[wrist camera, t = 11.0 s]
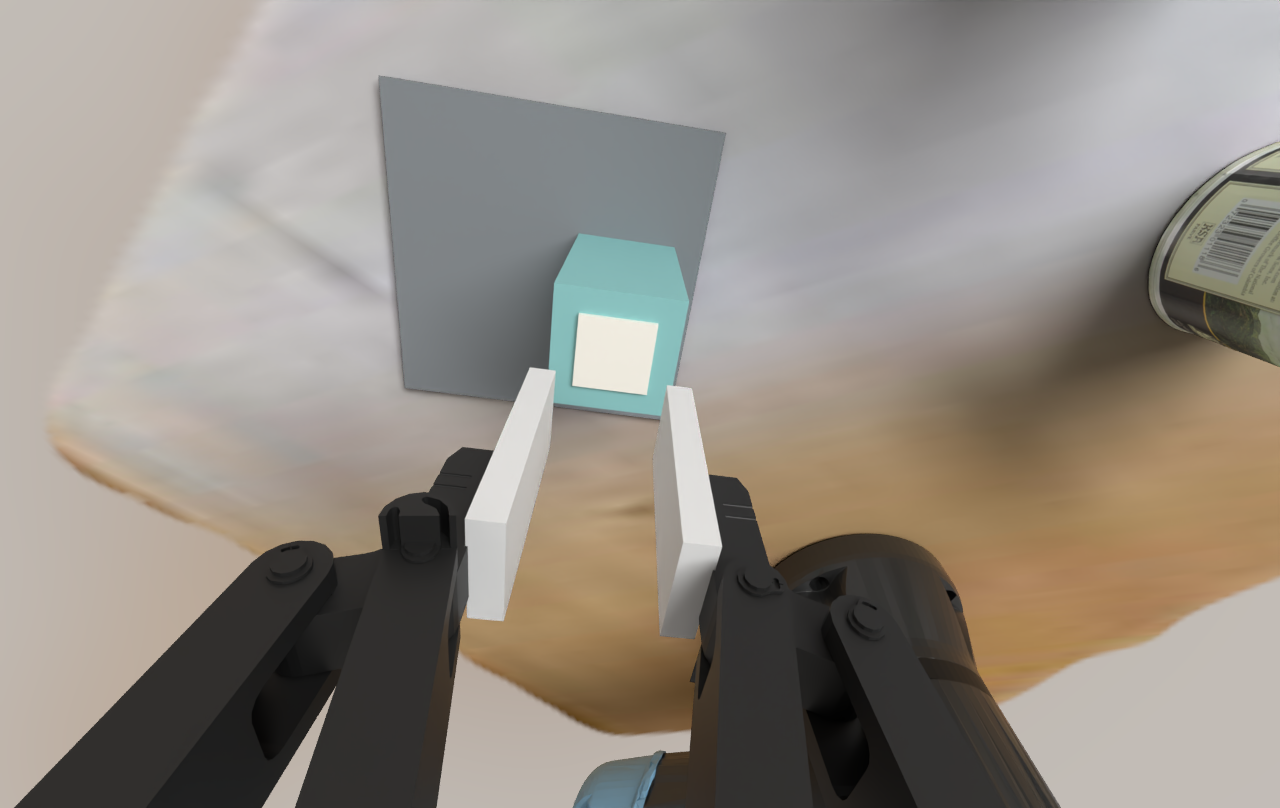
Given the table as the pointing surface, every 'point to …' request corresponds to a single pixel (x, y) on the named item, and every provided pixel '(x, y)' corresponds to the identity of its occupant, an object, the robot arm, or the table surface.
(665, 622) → the robot arm
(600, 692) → the table surface
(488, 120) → the mat
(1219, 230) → the coffee can
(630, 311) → the block
